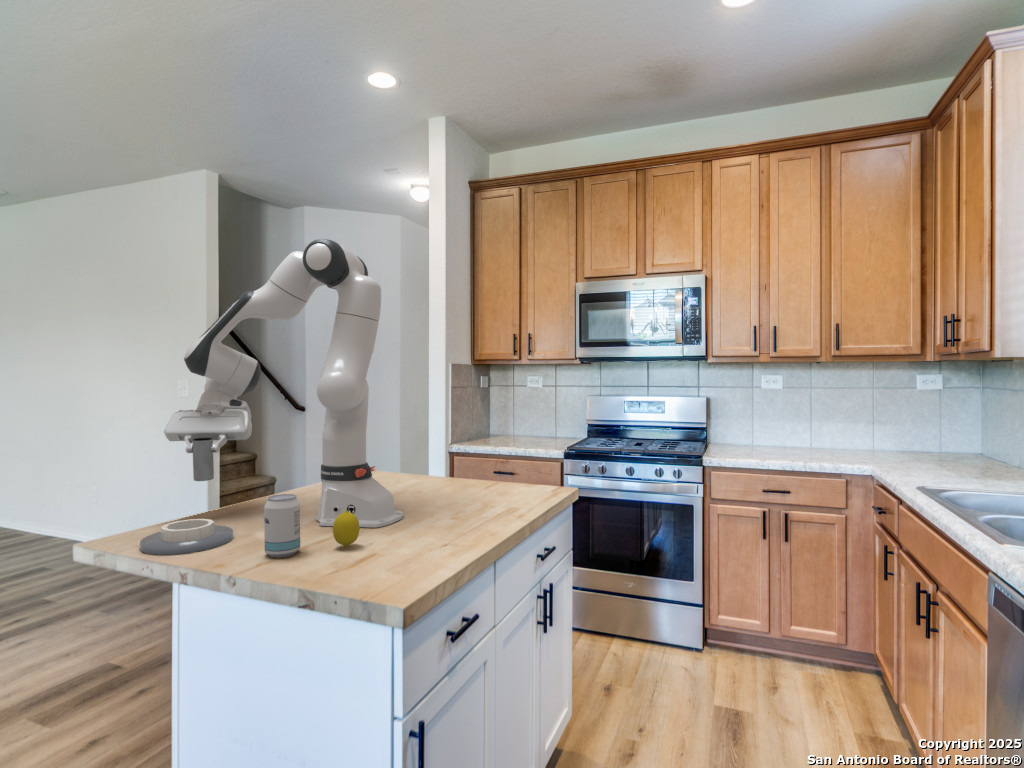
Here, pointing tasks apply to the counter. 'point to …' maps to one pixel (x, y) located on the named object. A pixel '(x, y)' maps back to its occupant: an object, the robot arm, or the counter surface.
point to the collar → (186, 537)
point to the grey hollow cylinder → (203, 459)
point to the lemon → (346, 528)
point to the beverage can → (282, 525)
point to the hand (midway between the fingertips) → (202, 451)
